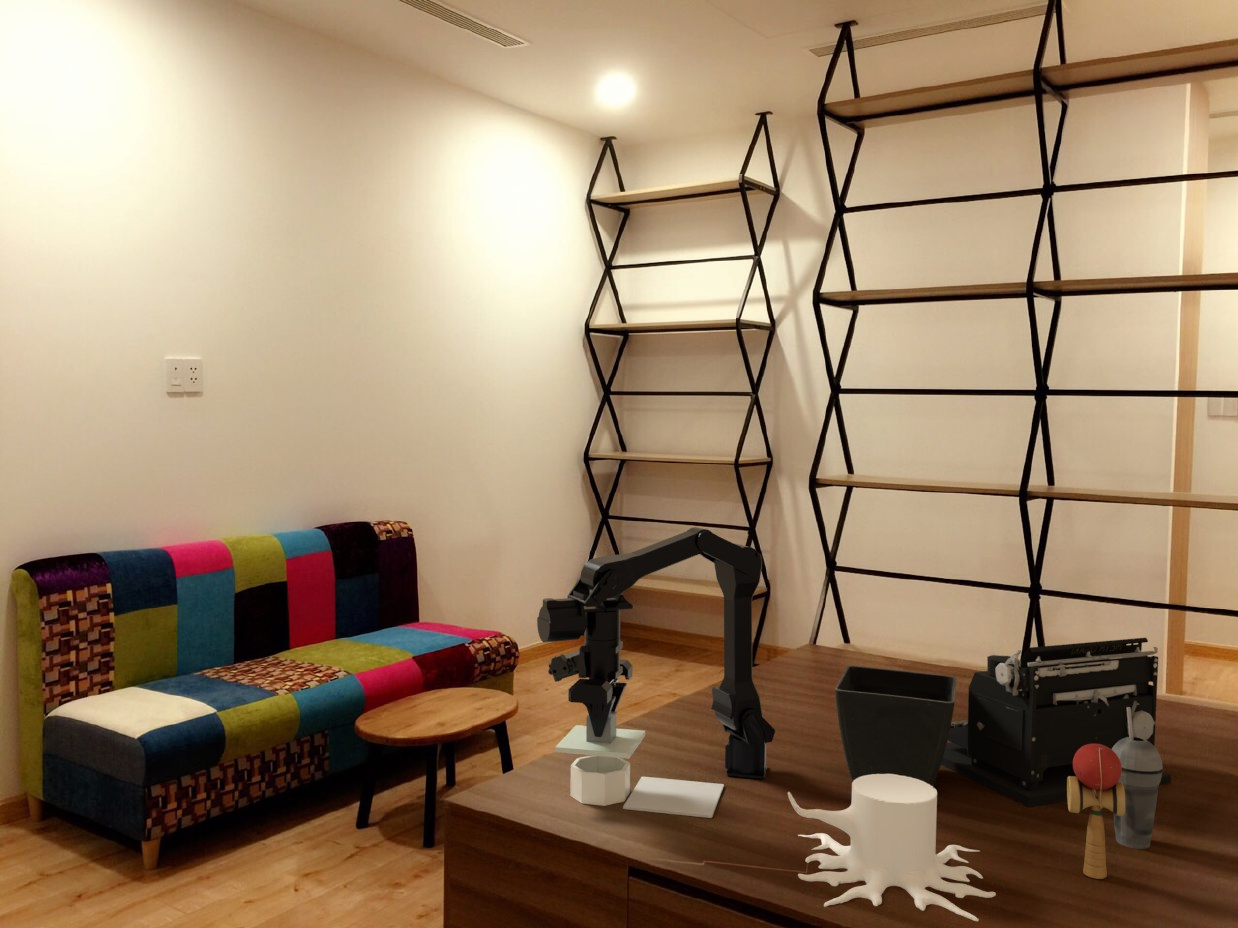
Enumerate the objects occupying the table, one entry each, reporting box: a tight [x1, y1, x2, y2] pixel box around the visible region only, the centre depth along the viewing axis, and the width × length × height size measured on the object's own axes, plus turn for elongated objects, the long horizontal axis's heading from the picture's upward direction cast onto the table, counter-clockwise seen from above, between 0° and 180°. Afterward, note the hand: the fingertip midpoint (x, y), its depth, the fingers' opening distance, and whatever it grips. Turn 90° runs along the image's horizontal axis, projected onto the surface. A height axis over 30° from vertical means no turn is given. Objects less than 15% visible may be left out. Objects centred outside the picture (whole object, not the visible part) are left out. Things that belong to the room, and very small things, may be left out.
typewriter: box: [941, 637, 1172, 808], centre depth 180 cm, size 31×27×25 cm
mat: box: [622, 776, 725, 819], centre depth 165 cm, size 14×14×1 cm
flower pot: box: [835, 665, 957, 787], centre depth 175 cm, size 19×19×17 cm
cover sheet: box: [554, 711, 646, 760], centre depth 165 cm, size 12×12×5 cm
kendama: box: [1067, 744, 1125, 880], centre depth 137 cm, size 8×6×18 cm
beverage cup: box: [1112, 707, 1165, 850], centre depth 148 cm, size 7×7×20 cm
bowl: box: [569, 755, 631, 807], centre depth 165 cm, size 9×9×5 cm
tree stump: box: [787, 774, 997, 922], centre depth 140 cm, size 28×28×11 cm
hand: (601, 732), depth 165 cm, fingers closed on cover sheet, 4 cm apart
